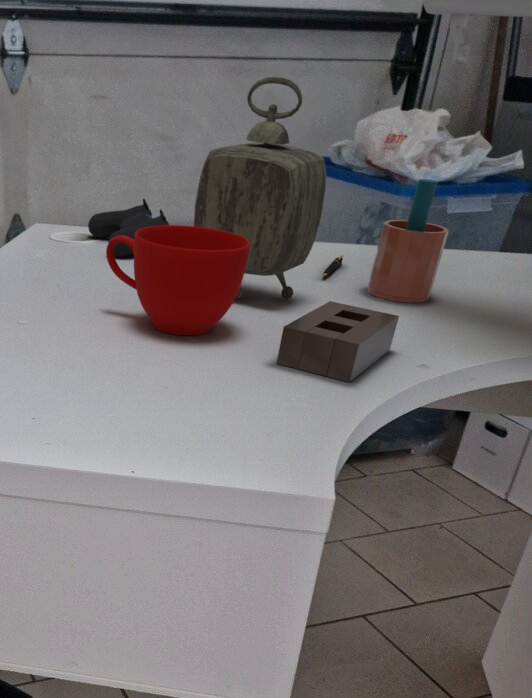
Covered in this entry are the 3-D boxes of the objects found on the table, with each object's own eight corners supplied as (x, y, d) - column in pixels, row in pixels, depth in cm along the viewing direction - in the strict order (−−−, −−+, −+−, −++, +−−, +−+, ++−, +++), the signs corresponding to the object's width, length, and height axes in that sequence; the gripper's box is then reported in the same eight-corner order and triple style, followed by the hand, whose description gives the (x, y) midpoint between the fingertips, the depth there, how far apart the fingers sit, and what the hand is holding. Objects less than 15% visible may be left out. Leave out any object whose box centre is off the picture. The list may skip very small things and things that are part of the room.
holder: (389, 350, 95) (399, 315, 93) (349, 382, 86) (359, 344, 83) (322, 335, 99) (329, 300, 97) (276, 363, 89) (283, 326, 87)
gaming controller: (123, 276, 126) (181, 240, 125) (107, 241, 123) (166, 205, 122) (97, 250, 139) (149, 218, 138) (82, 219, 136) (134, 185, 135)
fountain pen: (326, 281, 121) (328, 270, 120) (318, 280, 122) (320, 269, 121) (343, 263, 132) (346, 253, 131) (336, 261, 132) (338, 252, 132)
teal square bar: (409, 290, 117) (439, 180, 109) (404, 293, 116) (434, 182, 108) (392, 286, 118) (421, 178, 110) (387, 290, 117) (416, 180, 109)
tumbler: (435, 294, 119) (455, 227, 113) (419, 306, 113) (439, 235, 108) (377, 283, 122) (394, 217, 117) (359, 294, 116) (376, 225, 111)
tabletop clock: (304, 300, 112) (348, 82, 97) (277, 313, 105) (321, 83, 91) (208, 279, 118) (237, 72, 104) (178, 291, 112) (204, 72, 97)
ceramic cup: (126, 299, 107) (133, 215, 101) (250, 325, 101) (266, 237, 95) (78, 322, 97) (83, 231, 91) (212, 352, 91) (227, 256, 85)
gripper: (660, -90, 84) (605, 71, 92) (453, -85, 93) (420, 61, 101) (654, -100, 80) (598, 71, 87) (438, -93, 89) (405, 60, 97)
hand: (501, 66), depth 94 cm, fingers open, 8 cm apart
